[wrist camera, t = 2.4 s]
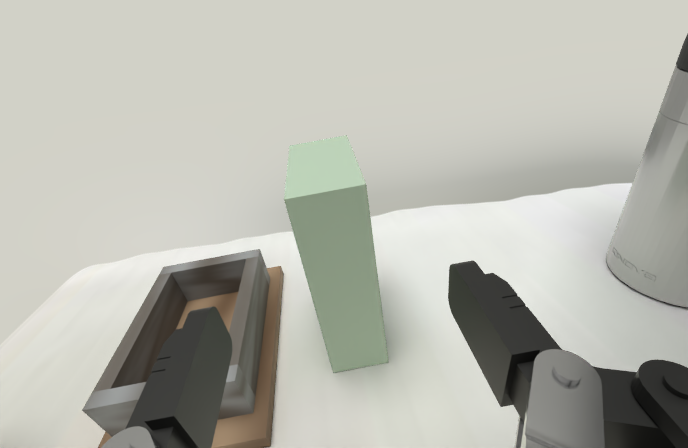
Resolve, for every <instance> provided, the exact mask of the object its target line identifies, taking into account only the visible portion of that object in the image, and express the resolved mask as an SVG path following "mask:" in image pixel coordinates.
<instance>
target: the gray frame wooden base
mask: <svg viewBox="0 0 688 448" xmlns="http://www.w3.org/2000/svg"><path fill="white" fill-rule="evenodd" d="M282 285H283V271H282V268H281V266H278V267H272V268H266V265H265V262H264V260H263V257H262V254H261V251H260V249H258V250H252V251H247V252H242V253H236V254H231V255H226V256H220V257H215V258H210V259H204V260H199V261H193V262H188V263H183V264H177V265H172V266H167V267H163V269H162V271H161V273H160V274H159V276H158V278H157V280H156V281H155V283H154V285H153V287H152V288H151V290H150V292H149V294H148V295H147V297H146V299H145V301H144V302H143V304H142V306H141V308H140V309H139V311H138V313H137V315H136V316H135V318H134V320H133V322H132V324H131V325H130V327H129V329H128V331H127V332H126V334H125V336H124V338H123V339H122V341H121V343H120V345H119V346H118V348H117V350H116V352H115V353H114V355H113V357H112V359H111V360H110V362H109V364H108V366H107V367H106V369H105V371H104V373H103V375H102V376H101V378H100V380H99V382H98V383H97V385H96V387H95V389H94V390H93V392H92V394H91V396H90V397H89V399H88V401H87V403H86V404H85V406H84V408H83V411H84V412H85V413H86V414H87V415H88V416H89V417H90V418H91V419H93V420H94V421H95V422H96V423H97V424H98V425H99V426H100V427H101V428H102V429H104V430H105V431H106V432H105V434H104V436H103V438H102V440H101V442H100V445H99V447H98V448H101V447H102V446H103V445H104V444H105V443H106V442H107V441H108V440H109V439H110V438H112V437H113V436H114V435H116V434H117V433H119V432H121V431H122V430H124V429H125V428H126V426H127V424H128V422H129V420H130V418H131V415H132V413H133V411H134V409H135V406H136V404H137V402H138V400H139V397H140V395H141V393H142V391H143V388H144V386H145V384H146V382H147V379H148V377H149V375H151V370H152V368H153V366H154V364H155V362H157V357H158V355H159V353H160V350H161V348H162V346H163V344H164V342H165V341H166V340H167V339H168V338H169V337H170V335H171V334H172V333H173V332H174V331H175V330H176V329H181V328H182V327H183V325H184V323H185V320H186V318H187V315H188V313H189V312H190V311H192V310H197V309H202V308H208V307H216V308H217V310H218V311H219V313H220V316H221V318H222V320H223V322H224V324H225V326H226V328H227V330H228V332H229V334H230V336H231V340H232V357H231V361H230V366H229V370H228V375H227V379H226V384H225V388H224V393H223V398H222V402H221V407H220V411H219V416H218V420H217V425H216V429H215V434H214V438H213V443H212V447H211V448H263V447H268V446H270V445H271V432H272V418H273V405H274V392H275V378H276V365H277V352H278V338H279V325H280V312H281V298H282Z"/></svg>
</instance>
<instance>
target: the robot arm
mask: <svg viewBox="0 0 688 448" xmlns="http://www.w3.org/2000/svg"><path fill="white" fill-rule="evenodd" d="M606 261H607V264H608V267H609V268H610V269H611V271H612V272H613V273H614V274H615V275H616V276H617V277H618V278H619V279H620V280H621V281H623V282H624V283H625V284H627V285H628V286H630V287H631V288H633V289H635V290H637V291H639V292H641V293H643V294H645V295H647V296H650V297H652V298H655V299H657V300H660V301H663V302H667V303H670V304H673V305H678V306H683V307H688V35H687V37H686V39H685V41H684V44H683V46H682V49H681V52H680V55H679V57H678V60H677V63H676V67H675V69H674V72H673V75H672V77H671V80H670V83H669V86H668V89H667V91H666V94H665V97H664V99H663V102H662V105H661V108H660V111H659V113H658V116H657V119H656V122H655V124H654V127H653V130H652V132H651V135H650V138H649V141H648V143H647V146H646V149H645V152H644V154H643V157H642V160H641V162H640V165H639V168H638V170H637V173H636V176H635V179H634V181H633V184H632V187H631V189H630V192H629V195H628V198H627V200H626V203H625V206H624V208H623V211H622V214H621V216H620V219H619V222H618V224H617V227H616V230H615V233H614V235H613V238H612V241H611V244H610V246H609V249H608V252H607V256H606ZM448 299H449V305H450V309H451V312H452V314H453V316H454V318H455V320H456V322H457V324H458V326H459V328H460V330H461V332H462V334H463V336H464V337H465V339H466V341H467V343H468V345H469V347H470V349H471V351H472V353H473V355H474V357H475V359H476V360H477V362H478V364H479V366H480V368H481V370H482V372H483V374H484V376H485V378H486V380H487V381H488V383H489V385H490V387H491V389H492V391H493V393H494V395H495V397H496V399H497V401H498V403H499V404H500V406H501V407H503V406H508V405H514V407H515V408H516V410H517V412H518V414H519V415H520V416H519V420H518V426H517V433H516V439H515V446H514V448H688V368H687V367H685V366H682V365H680V364H677V363H674V362H670V361H665V360H650V361H647V362H645V363H643V364H642V365H641V366H640V368H639V370H638V371H637V372H629V371H620V370H611V369H603V368H597V367H593V366H591V365H590V364H589V363H588V362H587V361H585V360H584V359H583V358H581V357H579V356H578V355H575V354H573V353H571V352H568V351H564V350H562V349H561V348H560V347H559V346H558V344H557V343H556V342H555V341H554V339H553V338H552V337H551V336H550V334H549V333H548V332H547V331H546V330H545V328H544V327H543V326H542V325H541V323H540V322H539V321H538V320H537V318H536V317H535V316H534V315H533V313H532V312H531V311H530V310H529V308H528V307H526V306H525V303H524V302H523V301H522V300H521V299H520V297H518V296H517V294H516V292H515V291H514V290H513V289H512V287H511V286H510V285H509V284H508V282H506V281H505V280H503V279H502V278H500V277H498V276H497V275H495V274H494V273H490V274H484V273H483V271H482V270H481V269H480V267H479V266H478V265H477V263H476V262H475V261H468V262H463V263H457V264H452V265H450V269H449V293H448ZM231 357H232V340H231V336H230V334H229V332H228V330H227V328H226V326H225V324H224V322H223V320H222V318H221V316H220V313H219V311H218V310H217V308H216V307H208V308H202V309H197V310H192V311H190V312H189V313H188V315H187V318H186V320H185V323H184V325H183V327H182V328H181V329H176V330H175V331H174V332H173V333H172V334H171V335H170V337H169V338H168V339H167V340H166V341H165V342H164V344H163V346H162V348H161V350H160V353H159V355H158V357H157V362H155V364H154V366H153V368H152V370H151V375H149V377H148V379H147V382H146V384H145V386H144V388H143V391H142V393H141V395H140V397H139V400H138V402H137V404H136V406H135V409H134V411H133V413H132V415H131V418H130V420H129V422H128V424H127V426H126V428H125V429H124V430H122V431H121V432H119V433H117V434H116V435H114V436H113V437H112V438H110V439H109V440H108V441H107V442H106V443H105V444H104V445H103V446H102V447H101V448H211V447H212V443H213V438H214V434H215V429H216V425H217V420H218V416H219V411H220V407H221V402H222V398H223V393H224V388H225V384H226V379H227V375H228V370H229V366H230V361H231Z"/></svg>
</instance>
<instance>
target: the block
mask: <svg viewBox="0 0 688 448" xmlns="http://www.w3.org/2000/svg"><path fill="white" fill-rule="evenodd" d="M284 200H285V204H286V208H287V211H288V215H289V218H290V221H291V225H292V229H293V232H294V236H295V239H296V243H297V246H298V250H299V254H300V257H301V261H302V264H303V268H304V271H305V275H306V278H307V282H308V285H309V289H310V292H311V296H312V299H313V303H314V306H315V310H316V313H317V317H318V320H319V324H320V327H321V331H322V334H323V338H324V341H325V345H326V349H327V352H328V356H329V359H330V363H331V366H332V370H333V373H336V372H342V371H347V370H352V369H357V368H362V367H367V366H373V365H378V364H383V363H388V355H387V347H386V339H385V331H384V323H383V315H382V307H381V299H380V291H379V283H378V275H377V267H376V259H375V251H374V243H373V235H372V227H371V219H370V211H369V203H368V195H367V188H366V183H365V180H364V178H363V175H362V173H361V170H360V168H359V165H358V163H357V160H356V157H355V155H354V153H353V150H352V147H351V145H350V143H349V140H348V138H347V136H341V137H336V138H330V139H325V140H319V141H314V142H309V143H303V144H297V145H292V146H290V147H289V157H288V167H287V176H286V186H285V197H284Z"/></svg>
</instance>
